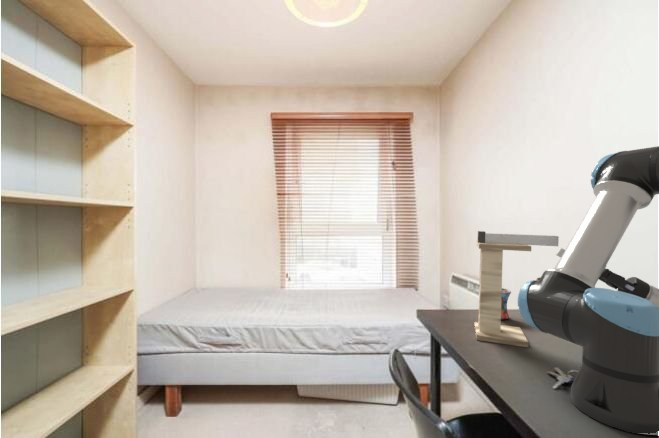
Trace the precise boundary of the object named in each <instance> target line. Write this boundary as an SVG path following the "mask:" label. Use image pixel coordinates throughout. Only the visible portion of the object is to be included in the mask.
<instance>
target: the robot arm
mask: <svg viewBox="0 0 659 438" xmlns="http://www.w3.org/2000/svg"><path fill="white" fill-rule="evenodd" d="M590 176H591V177H592V178H591V179H590V185H591V188H592V190H593V194H594V196H595V198H594V200H593V202H592V204H591V205H590V208H589V209H588V211H587V212H586V214H585V216H584V217H583V219H582V221H581V223H580V224H579V226H578V227H577V229H576V231H575V233H574V235H573V236H572V238H571V240H570V241H569V242H568V245H567V246H566V248H562V247H560V248H559V249H558V251H557V252H556V254H555V256H558V257H559V260H558V262H557V263H556V265H555V267H553V268H550V269H548V268H547V269H546V270H544V271H543V272H542V274H541V276H540V277H541V278H540V277H539V278H540V279H539V281H538V280H536V279H533V280H530V281H526V282H524V284H523V285H522V286H521V288H520V289H519V291H518V295H517V307H518V312H519V315H520V317H521V318H522V319H523V322H525V323H526V324H527V325H528V326H529V327H532V328H534V329H537V330H538V331H540V332H541V333H544V334H548V335H551V336H553V337H557V338H559V339H562V340H565V341H567V342H570V343H572V344H575V345H577V346H580V347H582V350H581V351H582V353H581V354H582V358H581V359H582V360H581V364H580V368H579V369H578V371H577V373H576V376H575V378H574V379H573V382H572V384H571V386H570V401H571V403H572V404H573V405H574V406H575V407H576V408H577V409H578V410H579V411H581V412H582V413H583V414H585V415H586V416H588V417H590V418H592V419H593V420H595V421H598V422H600V423H601V424H605V425H607V426H609V427H612V428H614V427H615V428H614V429H617V428H618V429H617V430H620V429H621V430H620V431H623V430H624V432H627V433H630V432H632V433H631V434H634V433H648V434H650V433H656V432H657V431H659V288H657V287H656V286H654V285H651V284H649V283H647V282H646V281H644V280H642V279H640V278H639V277H636V276H631V277H628V278H626V277H625V276H623V275H619V274H617V273H616V272H613V271H612V270H610V269H609V268H606V267H607V265H608V263H609V261H610V259H611V257H612V256H613V254H614V252H615V251H616V248H617V247H618V245H619V243H620V241H621V240H622V238H623V236H624V234H625V233H626V231H627V229H628V227H629V225H630V224H631V222H632V221H633V219H634V217H635V215H636V213H637V211H638V210H642V209H645V208H647V207H648V206H649V205H650V204H651V203H652V201H653V199H654V197H655V196H657V195H659V146H653V147H652V146H651V147H646V148H640V149H639V148H638V149H632V150H621V151H617V152H615V153H610V154H607V155H605V156H603V157H602V158H600V159H599V160H598V161H597V162H596V163H595V165H594V166H593V168H592V170H591V174H590ZM598 281H601V282H603V283H605V284H606V285H607V286H609V287H611V288H612V289H609V288H604V287H603V288H602V287H596V284H598V283H597V282H598Z"/></svg>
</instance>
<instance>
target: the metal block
mask: <svg viewBox="0 0 659 438" xmlns="http://www.w3.org/2000/svg"><path fill="white" fill-rule="evenodd" d="M559 238H560V237H559V236H558V235H546V234H545V235H543V234H542V235H541V234H519V233H517V234H514V233H513V234H512V233H488V232H486V231H482V230H481V231H480V230H478V231H477V241H478V243H497V244H519V245H529V246H539V247H540V246H544V247H559V240H560V239H559Z"/></svg>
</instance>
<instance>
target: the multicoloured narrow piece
mask: <svg viewBox="0 0 659 438" xmlns="http://www.w3.org/2000/svg"><path fill="white" fill-rule="evenodd" d="M511 294H512V291H511V290H510V289H508V288H507V289H506V288H503V287H502V295H501V320H507V319H509V318H510V314H509V312H508V308H507V307H508V300H509V297H510V295H511Z"/></svg>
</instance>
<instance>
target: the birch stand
mask: <svg viewBox="0 0 659 438" xmlns="http://www.w3.org/2000/svg"><path fill="white" fill-rule="evenodd" d="M476 246H477V248H478V249H480V252H479V253H480V257H479V283H478V285H479V287H478V321H474V323H473V324H474V325H473V326H475V327H474V332H476V333H475V338H477V339H476V341H483V342H489V343H496V344H503V345H511V346H515V347H524V348H529V341H528V338H527V337H526V335H525V334H524V332H523V330H522V328H521V327H520V326H511V325H502V324H501V323H502V322H501V321H502V319H501V295H502V288H503V287H502V286H503V261H504V260H503V257H504V256H503V255H504V254H503V253H504V251H515V252H517V251H519V252H532V245H519V244H497V243H478V240H476Z"/></svg>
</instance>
